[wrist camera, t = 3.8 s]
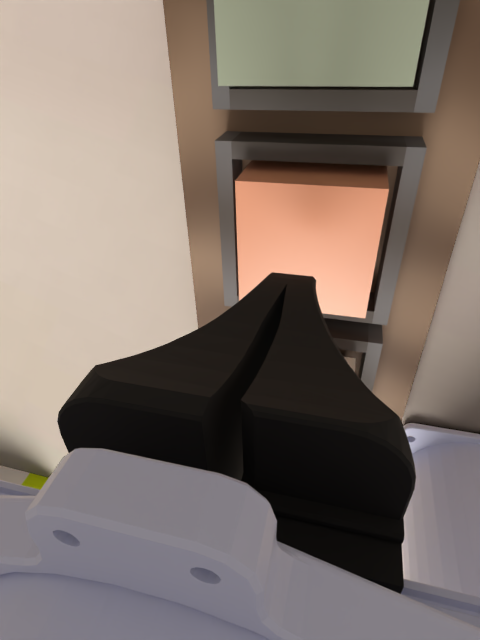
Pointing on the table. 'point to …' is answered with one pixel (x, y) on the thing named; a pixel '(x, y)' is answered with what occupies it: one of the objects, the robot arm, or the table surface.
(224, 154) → the button board
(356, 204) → the terracotta button
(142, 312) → the table surface
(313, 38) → the sage button
